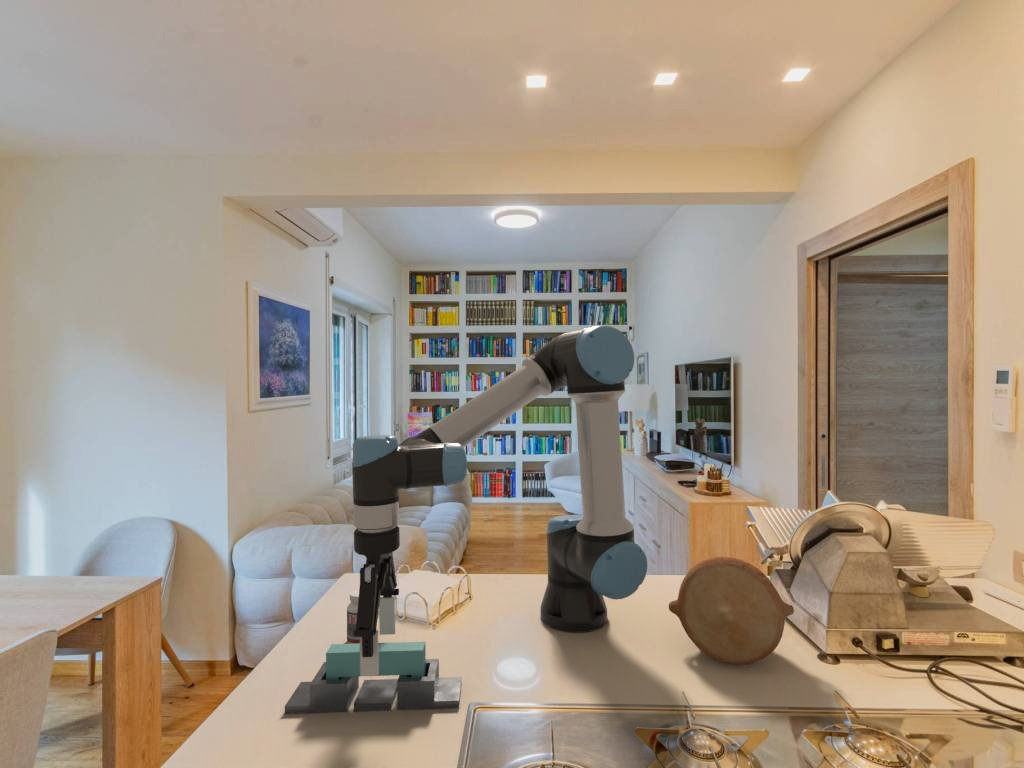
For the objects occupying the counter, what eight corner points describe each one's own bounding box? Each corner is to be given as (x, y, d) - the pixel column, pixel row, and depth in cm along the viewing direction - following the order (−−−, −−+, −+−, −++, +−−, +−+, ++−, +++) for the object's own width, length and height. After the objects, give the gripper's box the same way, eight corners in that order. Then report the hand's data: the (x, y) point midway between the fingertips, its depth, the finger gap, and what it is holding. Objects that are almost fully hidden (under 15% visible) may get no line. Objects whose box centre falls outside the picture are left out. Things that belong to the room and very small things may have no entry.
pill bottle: (367, 648, 104) (367, 598, 104) (341, 645, 105) (341, 596, 105) (380, 635, 109) (379, 588, 110) (355, 632, 111) (355, 586, 111)
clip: (425, 685, 88) (425, 641, 88) (423, 695, 85) (423, 650, 85) (331, 688, 88) (331, 644, 88) (326, 698, 85) (326, 653, 85)
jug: (652, 602, 96) (659, 569, 124) (720, 700, 90) (711, 642, 119) (743, 543, 93) (728, 523, 121) (819, 641, 87) (785, 596, 115)
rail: (461, 683, 90) (461, 658, 91) (459, 708, 84) (458, 680, 84) (300, 688, 89) (300, 662, 90) (284, 713, 82) (284, 685, 83)
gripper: (371, 510, 99) (374, 620, 99) (331, 550, 75) (334, 697, 74) (410, 509, 100) (413, 619, 99) (383, 548, 75) (386, 694, 74)
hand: (379, 652), depth 87 cm, fingers open, 13 cm apart
